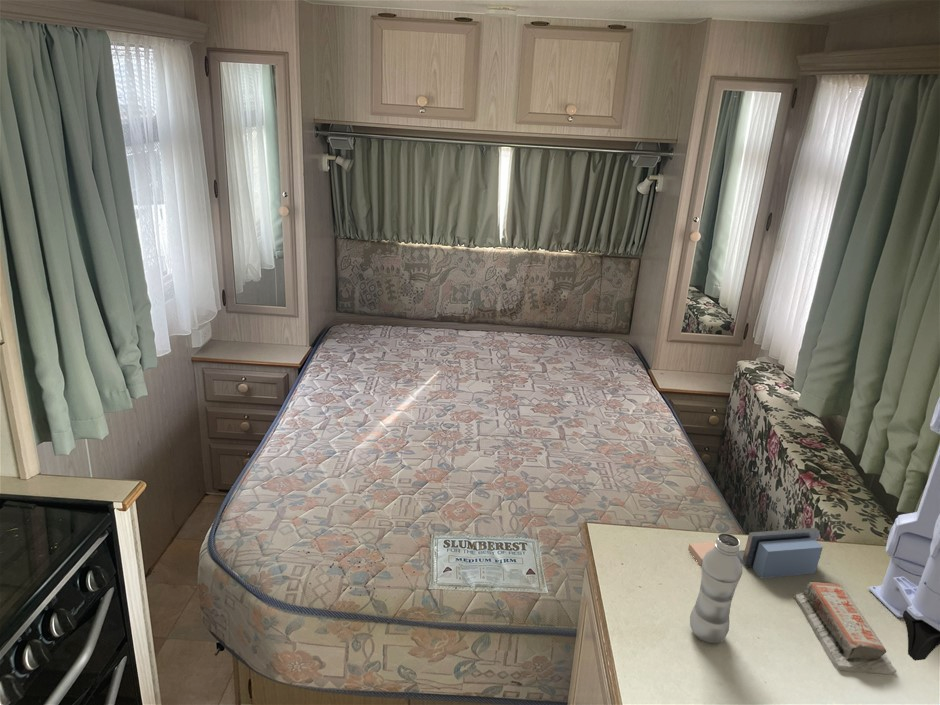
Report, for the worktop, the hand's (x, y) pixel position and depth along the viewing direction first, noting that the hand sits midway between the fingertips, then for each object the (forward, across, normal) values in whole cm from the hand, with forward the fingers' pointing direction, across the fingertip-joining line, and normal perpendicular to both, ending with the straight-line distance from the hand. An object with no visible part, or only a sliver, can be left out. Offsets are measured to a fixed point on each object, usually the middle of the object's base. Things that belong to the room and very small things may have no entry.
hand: (916, 656), depth 106 cm
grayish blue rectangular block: (+10, -32, 0) cm, 33 cm away
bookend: (+9, -36, +1) cm, 37 cm away
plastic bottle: (+10, -17, -24) cm, 31 cm away
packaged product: (+10, -15, +1) cm, 18 cm away
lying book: (+10, -38, -12) cm, 41 cm away
